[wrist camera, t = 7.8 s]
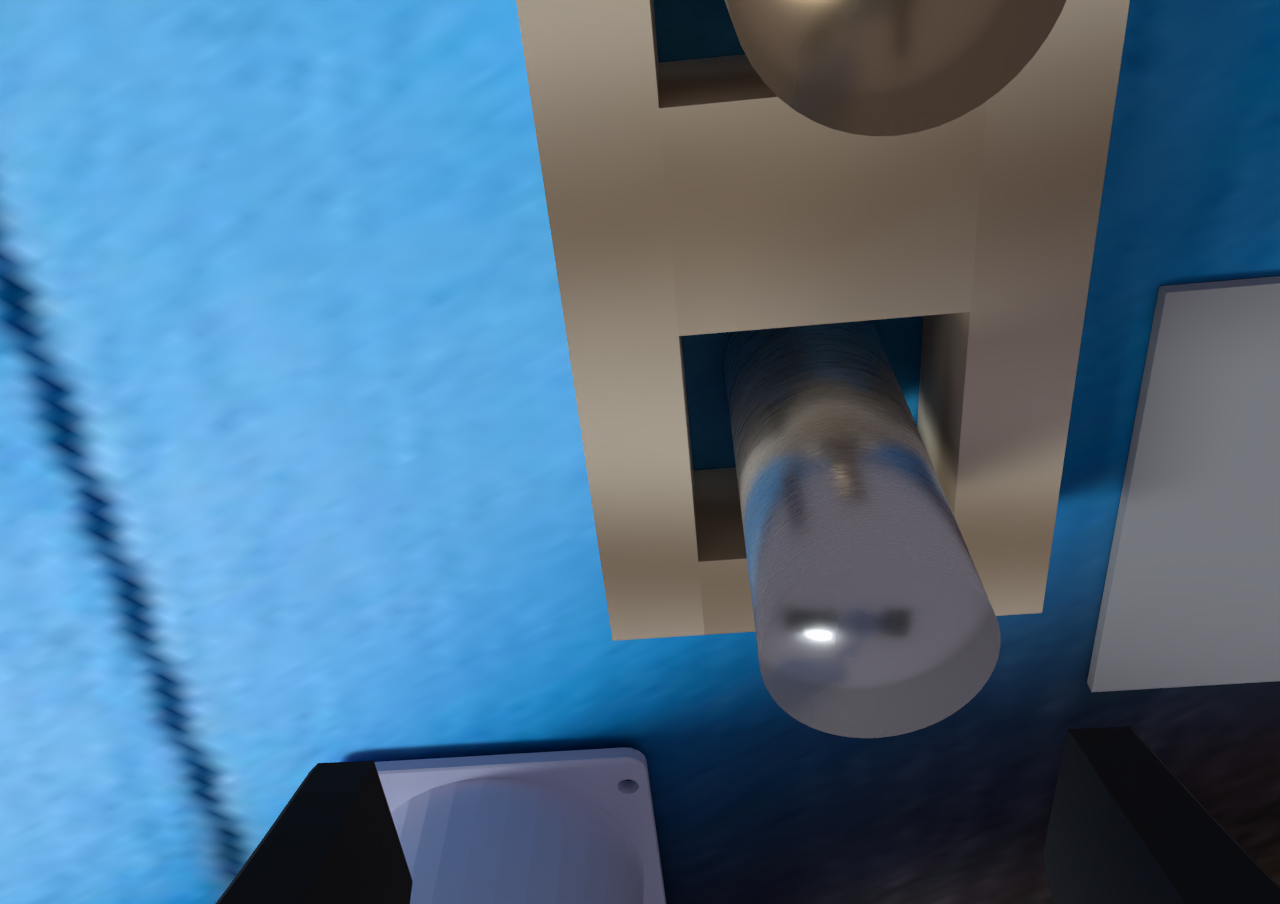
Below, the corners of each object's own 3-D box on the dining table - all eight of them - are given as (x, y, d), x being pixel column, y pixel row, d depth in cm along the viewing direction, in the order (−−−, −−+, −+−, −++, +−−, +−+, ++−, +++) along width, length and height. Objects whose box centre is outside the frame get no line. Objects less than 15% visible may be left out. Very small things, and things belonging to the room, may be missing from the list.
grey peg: (883, 420, 20) (996, 727, 14) (732, 438, 21) (769, 748, 14) (880, 280, 19) (1005, 548, 12) (716, 301, 19) (748, 575, 12)
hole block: (996, 517, 22) (1041, 612, 19) (617, 544, 22) (612, 640, 19) (1104, -500, 13) (1212, -574, 11) (485, -417, 14) (445, -469, 11)
